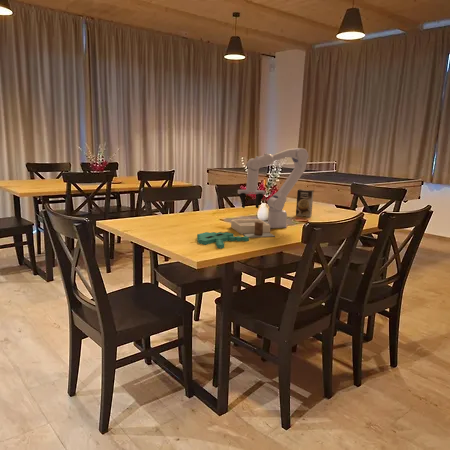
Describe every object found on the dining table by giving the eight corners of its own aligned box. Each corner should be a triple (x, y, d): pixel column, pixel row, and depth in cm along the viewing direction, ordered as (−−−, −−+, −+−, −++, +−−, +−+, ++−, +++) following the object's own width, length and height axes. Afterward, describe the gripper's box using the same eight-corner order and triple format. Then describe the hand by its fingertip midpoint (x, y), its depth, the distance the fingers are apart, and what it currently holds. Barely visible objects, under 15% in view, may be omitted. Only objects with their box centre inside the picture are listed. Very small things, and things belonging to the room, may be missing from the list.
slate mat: (269, 233, 204) (269, 232, 204) (274, 236, 197) (274, 235, 197) (242, 234, 200) (242, 233, 200) (247, 237, 194) (247, 237, 193)
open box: (258, 226, 220) (259, 218, 219) (269, 232, 205) (270, 225, 204) (231, 227, 216) (231, 219, 215) (240, 234, 201) (240, 226, 200)
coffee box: (295, 216, 253) (297, 189, 250) (297, 214, 259) (299, 188, 255) (310, 217, 250) (312, 191, 246) (311, 215, 256) (313, 189, 252)
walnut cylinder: (260, 233, 201) (261, 221, 200) (263, 235, 198) (264, 223, 196) (253, 233, 200) (253, 221, 199) (256, 235, 196) (256, 223, 195)
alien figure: (248, 241, 189) (215, 234, 201) (248, 236, 188) (215, 229, 201) (220, 249, 173) (187, 241, 186) (221, 244, 173) (187, 236, 185)
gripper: (241, 182, 206) (239, 208, 209) (268, 183, 211) (265, 209, 213) (237, 180, 213) (235, 206, 215) (262, 181, 217) (260, 207, 220)
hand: (250, 207), depth 215 cm, fingers open, 7 cm apart
